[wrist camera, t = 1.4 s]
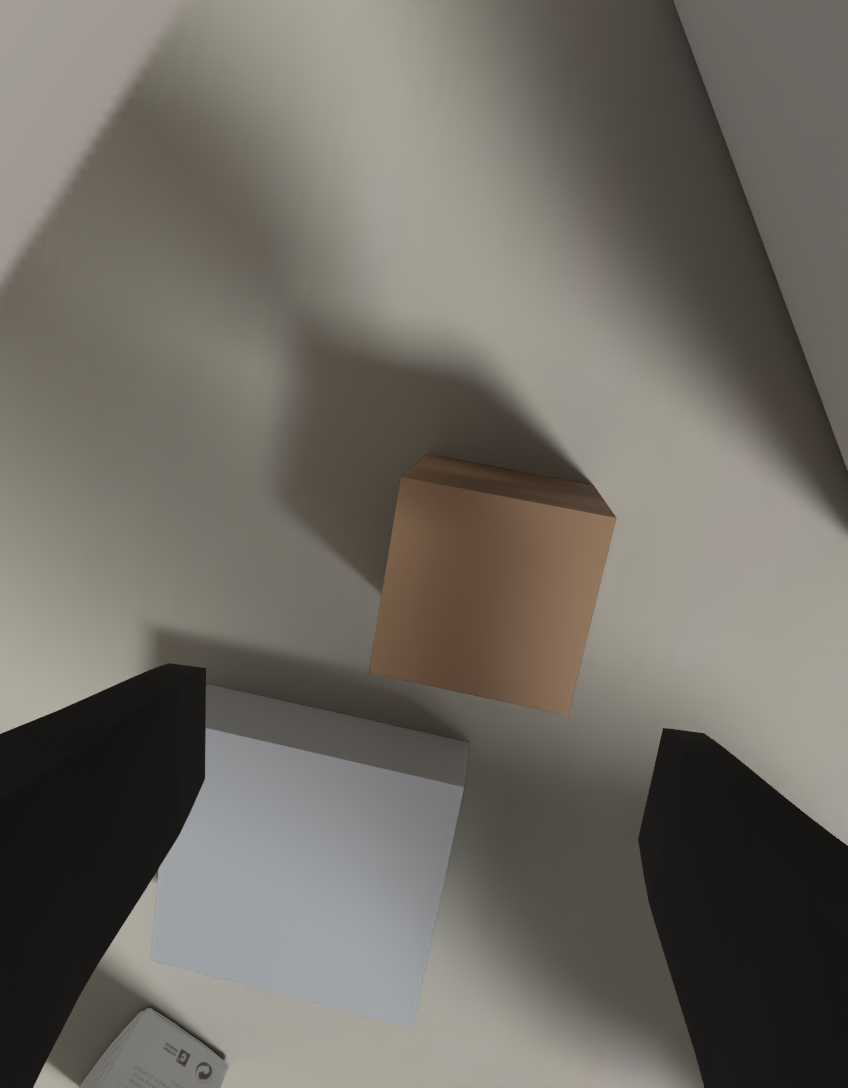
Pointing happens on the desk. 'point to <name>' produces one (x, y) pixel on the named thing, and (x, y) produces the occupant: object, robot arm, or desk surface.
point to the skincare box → (156, 1058)
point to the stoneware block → (312, 856)
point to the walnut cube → (491, 582)
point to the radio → (789, 157)
